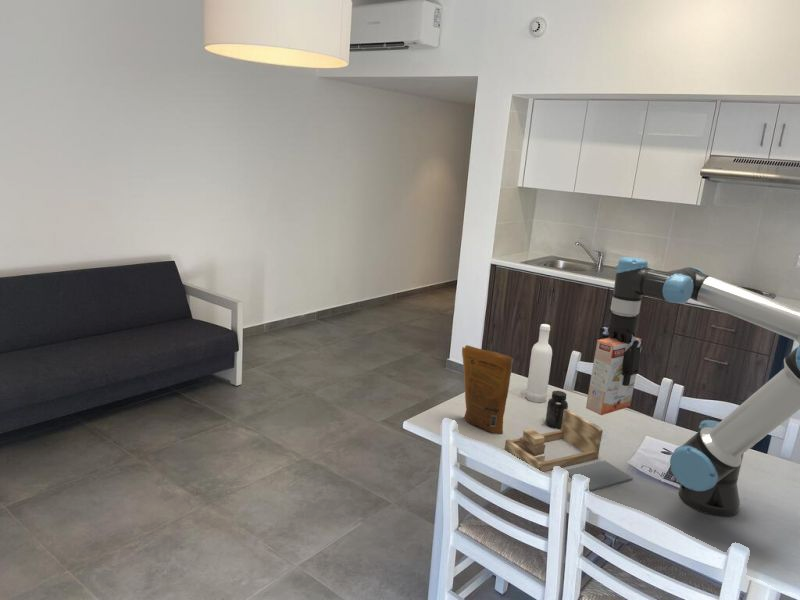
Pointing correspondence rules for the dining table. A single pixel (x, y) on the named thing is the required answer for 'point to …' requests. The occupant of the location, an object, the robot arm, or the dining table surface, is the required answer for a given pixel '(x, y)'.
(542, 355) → the bottle
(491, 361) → the pancake mix bag
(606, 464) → the felt mat
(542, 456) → the birch offcut
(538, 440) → the oak offcut
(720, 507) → the robot arm
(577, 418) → the oak rack
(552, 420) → the supplement bottle
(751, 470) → the dining table surface
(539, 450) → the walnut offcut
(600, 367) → the cracker box
